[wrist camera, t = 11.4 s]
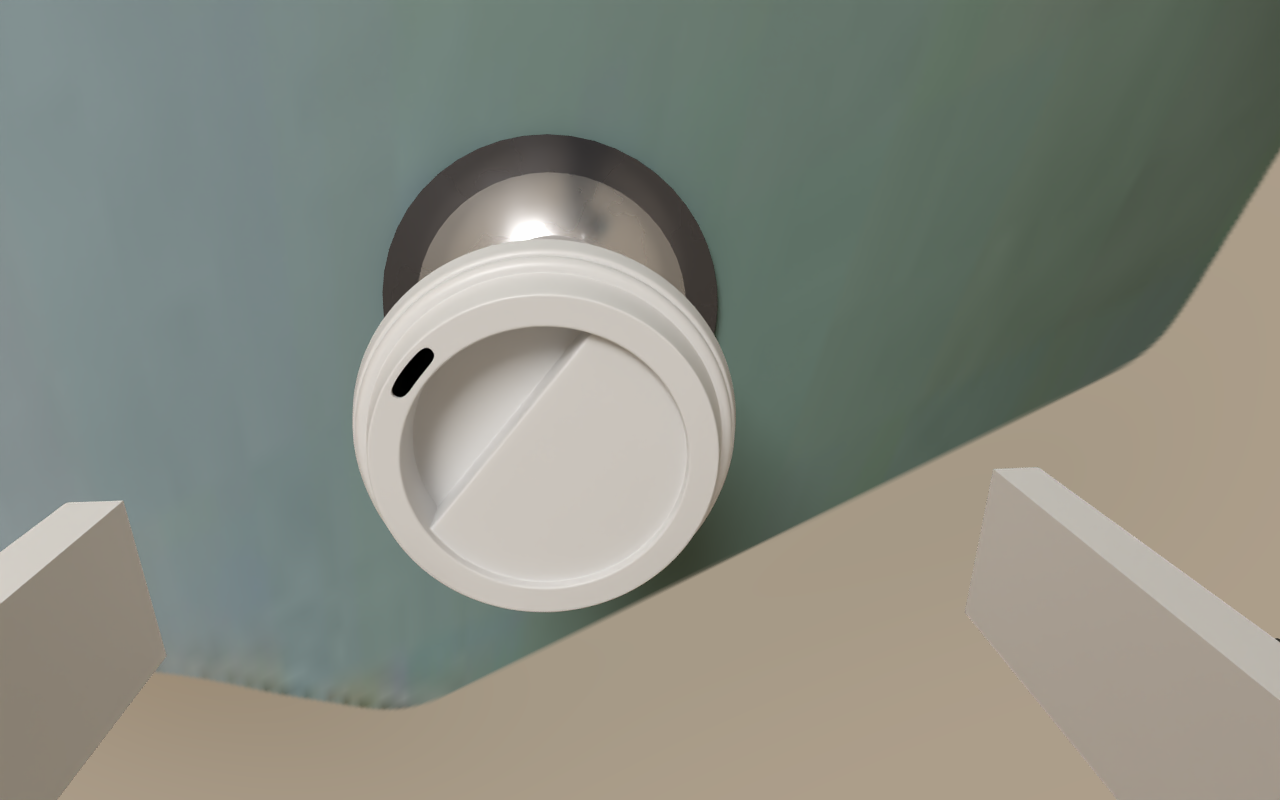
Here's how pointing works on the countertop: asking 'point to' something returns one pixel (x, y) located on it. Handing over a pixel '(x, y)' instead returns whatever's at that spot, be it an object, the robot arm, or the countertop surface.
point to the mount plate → (552, 213)
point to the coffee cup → (543, 423)
